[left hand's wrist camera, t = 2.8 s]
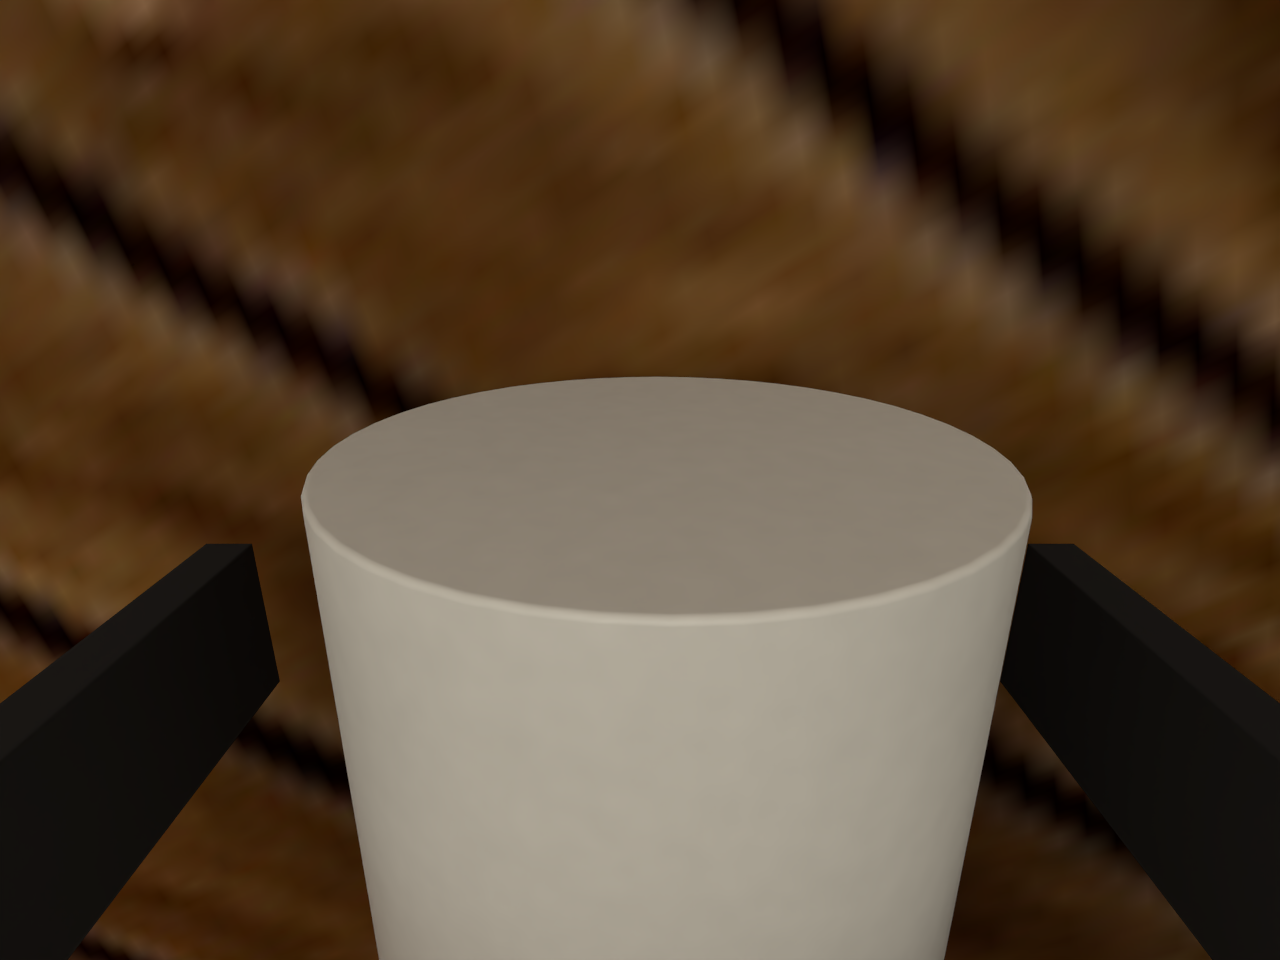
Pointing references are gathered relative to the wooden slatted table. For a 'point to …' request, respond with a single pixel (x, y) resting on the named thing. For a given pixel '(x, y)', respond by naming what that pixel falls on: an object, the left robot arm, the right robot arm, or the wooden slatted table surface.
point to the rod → (664, 668)
